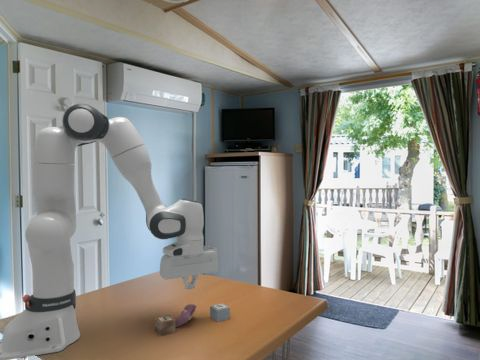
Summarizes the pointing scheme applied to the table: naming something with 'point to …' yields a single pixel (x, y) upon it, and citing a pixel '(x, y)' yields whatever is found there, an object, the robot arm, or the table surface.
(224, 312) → the slate grey block
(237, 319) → the table surface
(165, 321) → the walnut block
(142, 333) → the table surface
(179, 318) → the video game controller
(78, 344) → the table surface
